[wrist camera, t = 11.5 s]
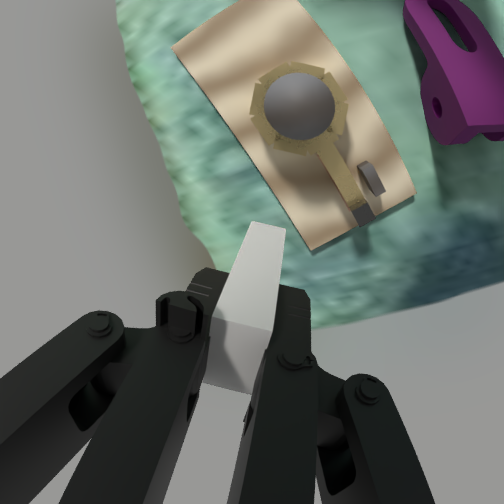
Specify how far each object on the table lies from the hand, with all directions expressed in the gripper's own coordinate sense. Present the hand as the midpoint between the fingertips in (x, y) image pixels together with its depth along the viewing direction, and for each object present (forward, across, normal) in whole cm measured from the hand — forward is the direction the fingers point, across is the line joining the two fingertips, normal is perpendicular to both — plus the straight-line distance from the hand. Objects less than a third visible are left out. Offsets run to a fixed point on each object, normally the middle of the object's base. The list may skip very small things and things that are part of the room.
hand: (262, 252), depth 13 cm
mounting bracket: (+21, +15, +18) cm, 32 cm away
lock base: (+21, 0, +7) cm, 22 cm away
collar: (+19, +3, +4) cm, 20 cm away
